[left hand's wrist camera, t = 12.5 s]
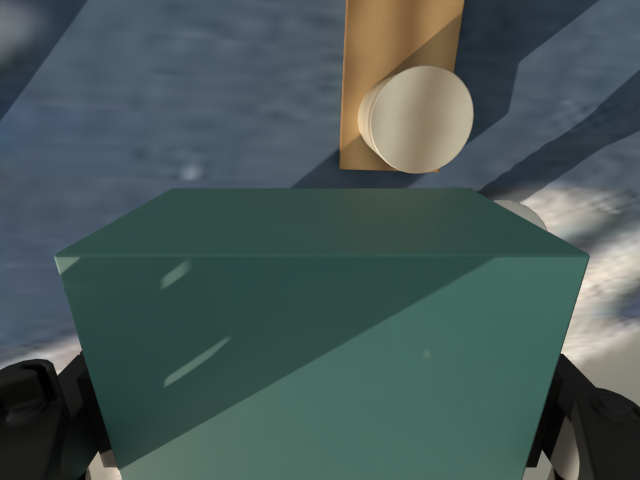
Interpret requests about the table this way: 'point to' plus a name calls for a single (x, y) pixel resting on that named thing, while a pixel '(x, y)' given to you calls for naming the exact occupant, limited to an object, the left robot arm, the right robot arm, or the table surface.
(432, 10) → the wooden block stand
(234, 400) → the teal green squarish block
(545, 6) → the table surface
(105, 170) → the table surface
